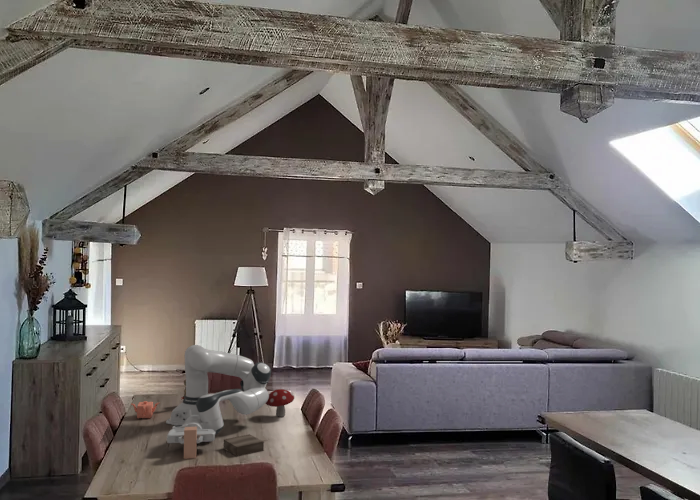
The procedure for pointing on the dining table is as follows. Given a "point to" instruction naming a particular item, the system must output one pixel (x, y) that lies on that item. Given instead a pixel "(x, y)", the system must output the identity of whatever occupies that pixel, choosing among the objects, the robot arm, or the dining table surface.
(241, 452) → the walnut plinth
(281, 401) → the decorative mushroom
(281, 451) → the dining table surface
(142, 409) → the teapot
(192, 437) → the terracotta block
